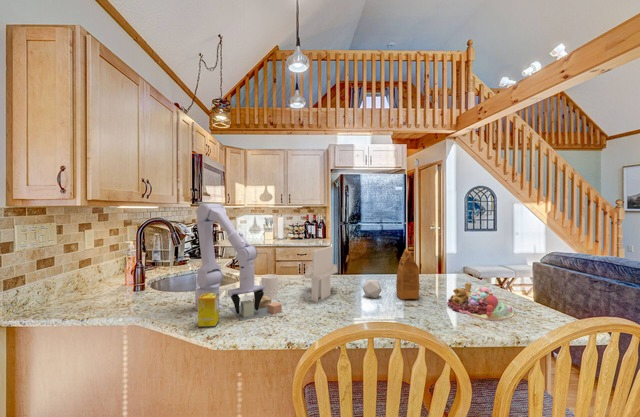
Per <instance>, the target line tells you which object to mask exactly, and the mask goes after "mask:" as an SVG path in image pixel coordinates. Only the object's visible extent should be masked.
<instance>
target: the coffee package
mask: <svg viewBox="0 0 640 417" xmlns="http://www.w3.org/2000/svg"><path fill="white" fill-rule="evenodd" d="M413 256H414V252H411V251H409V250H408V249H407V248H404V250H403V253H402V255H401V258H400V260H399V262H398V263H399V264H398V268H397V272H396V284H395V285H396V287H395V288H396V295H397V297H398V298H399V299H400V300H403V301H404V300H416V299H419V297H420V296H419V295H420V294H419V293H420V289H421V288H420V287H421V285H420V268H419V266H418V264H417V262H416V261H415V260H414V257H413Z"/></svg>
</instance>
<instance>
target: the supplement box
mask: <svg viewBox="0 0 640 417" xmlns="http://www.w3.org/2000/svg"><path fill="white" fill-rule="evenodd" d="M219 304H220V292H219V293H203V294H202V295H201V296H200V297H199V298H198V311H197V313H198V314H197V315H198V319H197V320H198V321H197V322H198V323H197V324H198V328H199V329H205V328H207V329H209V328H216V327H217V326H218V325H219V322H220V309H219Z"/></svg>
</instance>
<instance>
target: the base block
mask: <svg viewBox="0 0 640 417" xmlns="http://www.w3.org/2000/svg"><path fill="white" fill-rule="evenodd" d="M252 302H254V306H255V298H254V297H252ZM270 303H272V299H270V298H268V297H267V296H263V297H262V299H261V301H260V304H259V308H258V309H261V308H266V307H267V304H270Z"/></svg>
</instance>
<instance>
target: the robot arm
mask: <svg viewBox="0 0 640 417" xmlns="http://www.w3.org/2000/svg"><path fill="white" fill-rule="evenodd" d="M195 213H196V218H197V219H196V220H197V223H196V224H197V231H198V232H197V233H198V240H199V249H200V258H201V265H200V267H199V268H198V270H197V276H196V283H197V285H198V287H199V288H195V293H194V295H195V296H194V300H195V301H194V302H195V305H194V308H195V309H196V310H197V312H198V298H199V297H200V296H201V295H202V294H203V293H219V294H220V286H221V283H222V282H223V280H224V273H223V270H222V268H221V265H220V264H218V263H217V261H216V253H215V245H214V237H213V229H212V226H213V225H214V223H215V222H216V223H218V225H220V227H221V228H222V230H224V231H225V233H226V234H227V235H228V238H227V240H228V242H229V243H230V245H231V246H232V247H233V249H234V251H235V252H236V253H235V257H236V259H237V261H238V266H239V287H236V288H233V289H232V288H231V289H227V296H228V297H230V298H231V300H232V303H233V307H235V310H236V313H237V314H239V312H240V311H239V306H240V304H241V297H239V296H240V295H243V294H251V293H253V295H254V296H253V298H255V310H258V308H259V304H260V301H261V299H262V297H263V295H264V292H263V291H265V286H264V285H262V284H261V285H255V284H256V282H255V260H256V259H257V257H258V250H257V248H256V246H255V245H253V244H251V243H249V242H248V240H247V239H246V237H245V236H244V233H243V232H241V231H240V230H236V228H235V227H234V224H233V223H232V222H231V220H230V218H229V217H228V215H227V209H226V208H225V206H224V204H222V203H220V202H219V203H218V202H217V203H205V202H204V203H203V202H202V203H200V204H199V205H198V207H197V208H196V212H195ZM221 309H223V306H222V305H221V304H220V303H219V310H221Z"/></svg>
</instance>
